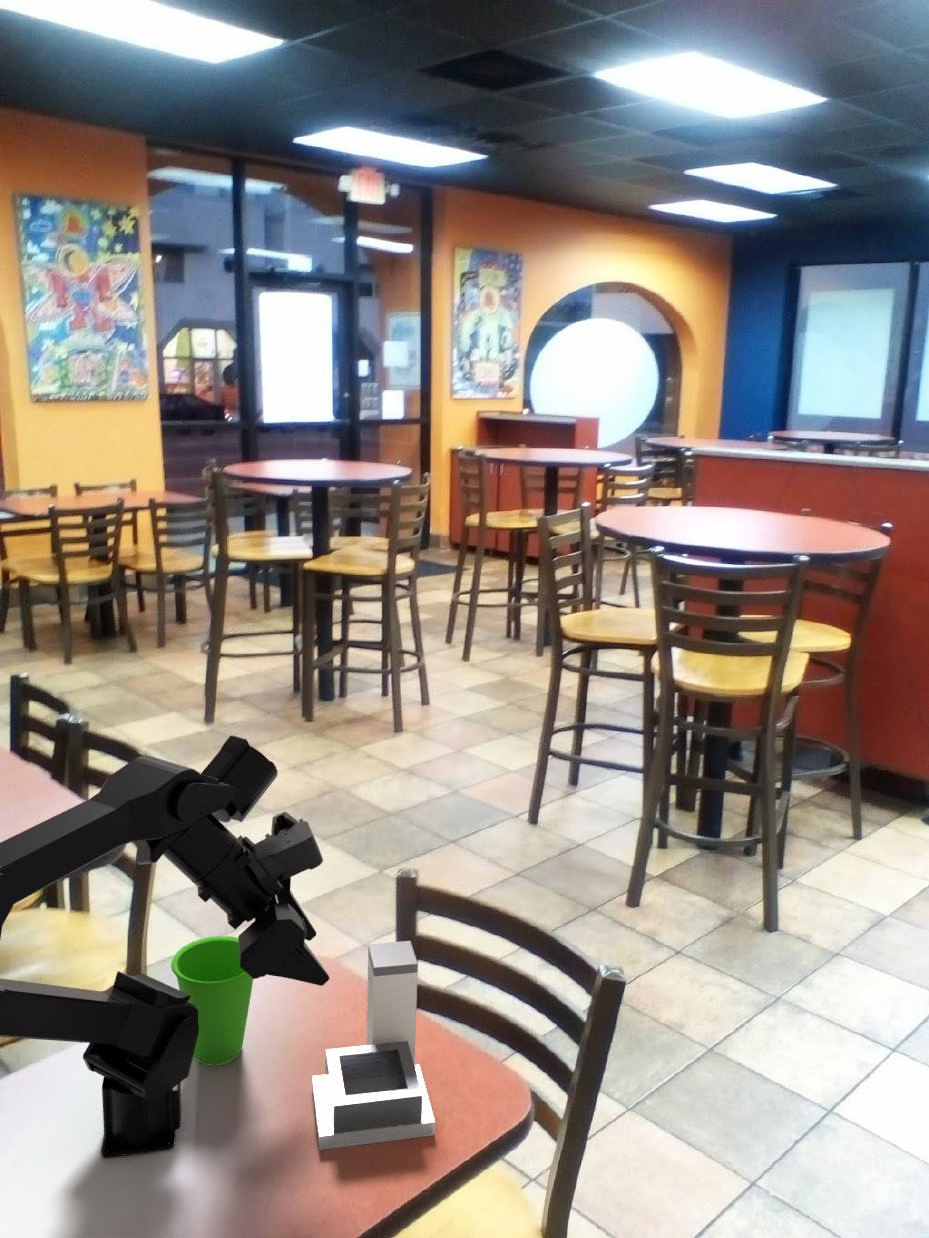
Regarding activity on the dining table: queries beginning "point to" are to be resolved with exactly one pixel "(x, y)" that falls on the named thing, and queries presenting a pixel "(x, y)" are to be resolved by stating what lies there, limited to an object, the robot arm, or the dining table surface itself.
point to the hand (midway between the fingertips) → (319, 958)
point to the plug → (392, 994)
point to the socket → (371, 1096)
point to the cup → (215, 995)
